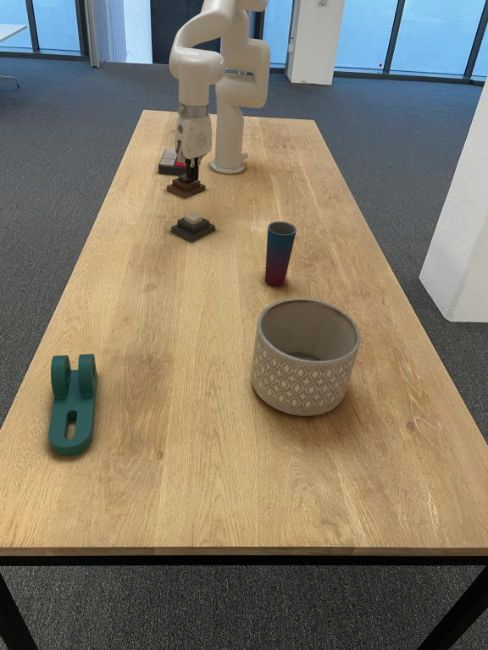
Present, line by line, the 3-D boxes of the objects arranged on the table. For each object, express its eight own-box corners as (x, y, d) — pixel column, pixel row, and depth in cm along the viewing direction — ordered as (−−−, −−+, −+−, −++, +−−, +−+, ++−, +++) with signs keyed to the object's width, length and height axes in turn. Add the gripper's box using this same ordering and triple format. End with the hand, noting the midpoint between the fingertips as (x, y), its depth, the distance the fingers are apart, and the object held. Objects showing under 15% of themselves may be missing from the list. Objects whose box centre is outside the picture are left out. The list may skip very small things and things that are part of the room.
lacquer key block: (194, 221, 149) (195, 210, 147) (215, 230, 146) (215, 219, 144) (170, 232, 143) (170, 221, 141) (191, 242, 139) (191, 231, 137)
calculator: (157, 163, 173) (165, 146, 184) (158, 175, 175) (165, 157, 187) (189, 166, 173) (195, 149, 184) (189, 178, 176) (195, 160, 187)
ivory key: (193, 217, 144) (193, 212, 143) (202, 222, 143) (202, 216, 142) (184, 221, 142) (184, 215, 141) (193, 226, 140) (193, 220, 139)
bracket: (60, 379, 95) (54, 348, 90) (97, 377, 96) (92, 346, 91) (47, 457, 81) (39, 425, 76) (91, 454, 82) (85, 422, 77)
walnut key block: (187, 182, 171) (188, 172, 169) (205, 190, 167) (205, 180, 165) (166, 190, 165) (166, 180, 162) (184, 198, 161) (184, 188, 159)
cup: (291, 277, 129) (299, 225, 120) (284, 291, 124) (292, 237, 115) (265, 271, 131) (272, 218, 121) (257, 284, 126) (264, 230, 116)
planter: (276, 432, 89) (286, 374, 80) (235, 364, 102) (241, 307, 93) (362, 406, 96) (381, 350, 87) (314, 345, 109) (326, 291, 100)
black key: (186, 178, 166) (186, 173, 165) (194, 181, 164) (194, 176, 163) (178, 181, 164) (178, 176, 163) (186, 184, 162) (186, 179, 161)
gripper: (183, 118, 121) (182, 190, 133) (223, 108, 131) (220, 176, 142) (161, 111, 125) (163, 181, 136) (202, 102, 135) (200, 169, 146)
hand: (192, 179), depth 139 cm, fingers closed
